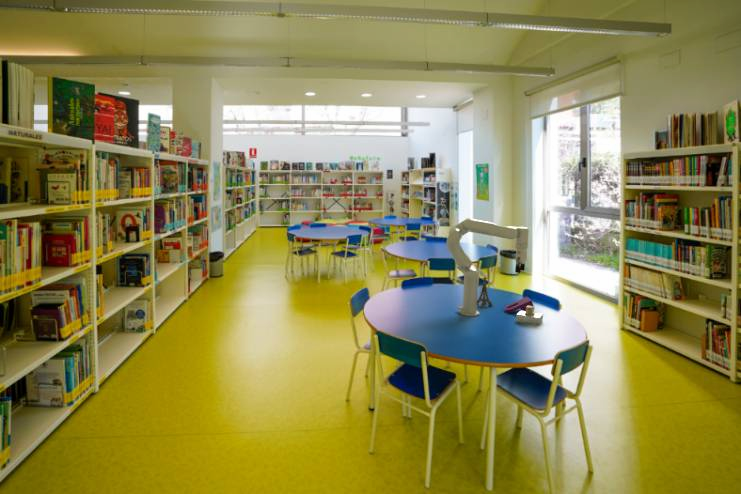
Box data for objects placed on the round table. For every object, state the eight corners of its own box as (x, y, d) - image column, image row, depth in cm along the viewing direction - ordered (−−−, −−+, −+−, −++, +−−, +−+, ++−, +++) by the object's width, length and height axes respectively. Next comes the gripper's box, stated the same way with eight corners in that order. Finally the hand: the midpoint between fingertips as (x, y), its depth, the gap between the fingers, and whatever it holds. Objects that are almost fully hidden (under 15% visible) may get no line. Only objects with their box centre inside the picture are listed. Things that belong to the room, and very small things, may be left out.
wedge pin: (525, 321, 286) (526, 306, 285) (526, 320, 290) (527, 305, 288) (531, 323, 284) (532, 307, 283) (533, 321, 287) (534, 306, 286)
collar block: (516, 321, 286) (516, 314, 286) (520, 317, 295) (520, 310, 294) (538, 325, 279) (539, 318, 278) (542, 321, 287) (543, 314, 286)
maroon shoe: (511, 321, 305) (536, 311, 303) (506, 311, 304) (531, 300, 302) (507, 317, 314) (531, 307, 313) (502, 307, 313) (526, 296, 312)
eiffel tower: (473, 304, 325) (474, 270, 321) (484, 302, 330) (486, 269, 326) (482, 308, 316) (484, 273, 312) (494, 306, 320) (496, 272, 316)
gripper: (523, 248, 282) (522, 274, 285) (530, 244, 297) (529, 270, 299) (511, 246, 287) (510, 273, 289) (519, 243, 301) (517, 268, 303)
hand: (519, 271), depth 294 cm, fingers open, 9 cm apart
